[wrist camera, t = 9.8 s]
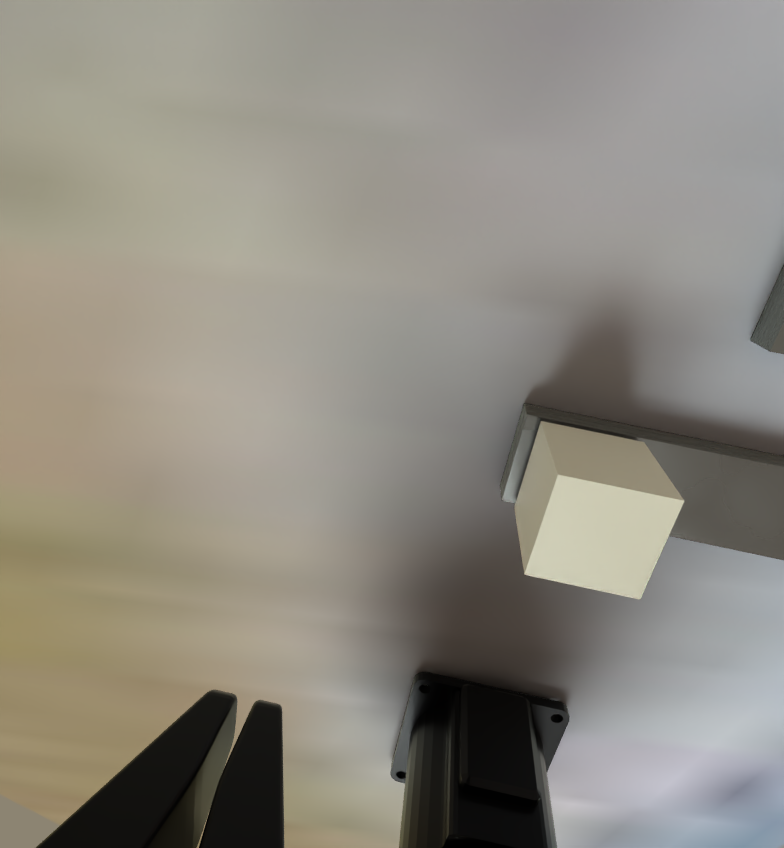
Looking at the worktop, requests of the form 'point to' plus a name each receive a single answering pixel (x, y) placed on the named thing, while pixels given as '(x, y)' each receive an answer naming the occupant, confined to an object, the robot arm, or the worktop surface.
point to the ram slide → (593, 510)
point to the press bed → (772, 320)
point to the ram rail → (686, 481)
